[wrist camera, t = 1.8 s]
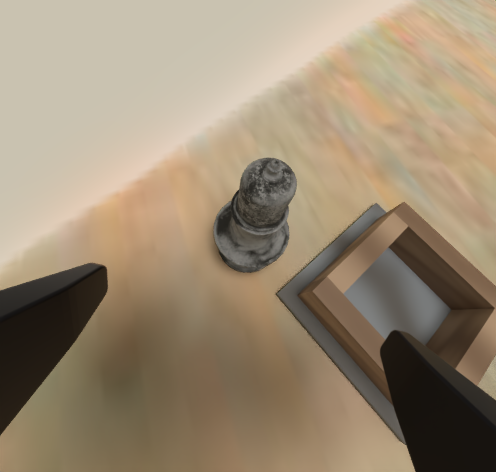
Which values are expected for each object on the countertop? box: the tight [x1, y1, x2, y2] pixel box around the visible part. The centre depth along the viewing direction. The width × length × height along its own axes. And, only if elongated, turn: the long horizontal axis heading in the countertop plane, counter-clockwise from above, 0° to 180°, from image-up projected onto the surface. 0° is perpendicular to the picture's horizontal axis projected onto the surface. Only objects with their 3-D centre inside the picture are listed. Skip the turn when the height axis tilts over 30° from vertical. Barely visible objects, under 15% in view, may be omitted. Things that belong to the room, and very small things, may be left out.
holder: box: [276, 202, 496, 445], centre depth 19 cm, size 14×14×4 cm
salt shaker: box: [214, 158, 297, 273], centre depth 16 cm, size 6×6×12 cm
